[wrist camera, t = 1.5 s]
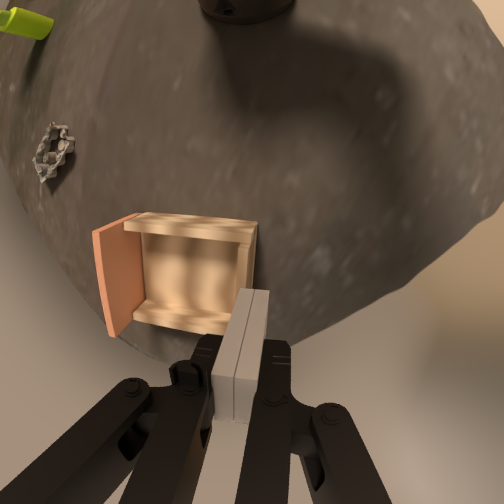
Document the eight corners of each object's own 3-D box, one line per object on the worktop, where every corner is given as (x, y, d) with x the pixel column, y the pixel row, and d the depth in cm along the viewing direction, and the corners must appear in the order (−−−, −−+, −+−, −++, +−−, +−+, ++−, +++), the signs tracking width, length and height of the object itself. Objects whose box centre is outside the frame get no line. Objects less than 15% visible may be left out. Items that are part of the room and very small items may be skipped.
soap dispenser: (58, 22, 30) (-3, 3, 12) (39, 44, 32) (-23, 32, 14) (54, 12, 29) (-3, -7, 10) (36, 33, 31) (-22, 20, 12)
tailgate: (142, 213, 41) (99, 232, 30) (147, 302, 46) (115, 337, 36) (135, 212, 41) (92, 231, 30) (142, 300, 46) (109, 335, 36)
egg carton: (66, 119, 38) (52, 118, 35) (80, 146, 40) (65, 147, 36) (40, 156, 41) (26, 158, 38) (52, 183, 43) (38, 186, 39)
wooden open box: (257, 221, 40) (249, 238, 32) (250, 315, 46) (241, 349, 37) (146, 212, 42) (115, 225, 34) (151, 299, 47) (128, 326, 39)
